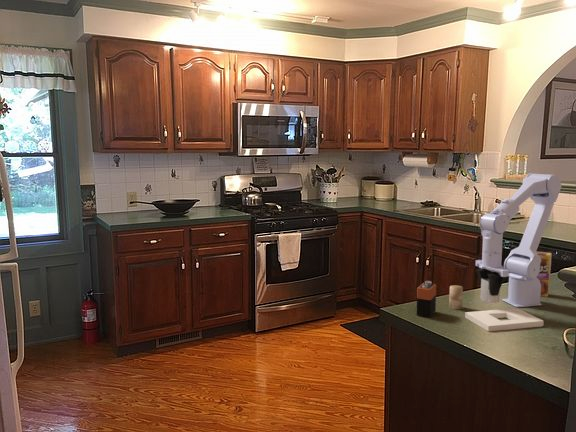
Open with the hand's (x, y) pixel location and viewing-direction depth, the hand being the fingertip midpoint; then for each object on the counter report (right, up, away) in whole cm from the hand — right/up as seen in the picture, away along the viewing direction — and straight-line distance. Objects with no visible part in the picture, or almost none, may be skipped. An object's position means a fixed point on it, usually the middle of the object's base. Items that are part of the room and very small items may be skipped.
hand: (490, 293), depth 158 cm
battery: (-21, -7, -1) cm, 22 cm away
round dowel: (-10, -5, +4) cm, 12 cm away
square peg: (0, -3, 0) cm, 3 cm away
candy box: (+23, -3, +18) cm, 29 cm away
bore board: (0, -7, -9) cm, 12 cm away
